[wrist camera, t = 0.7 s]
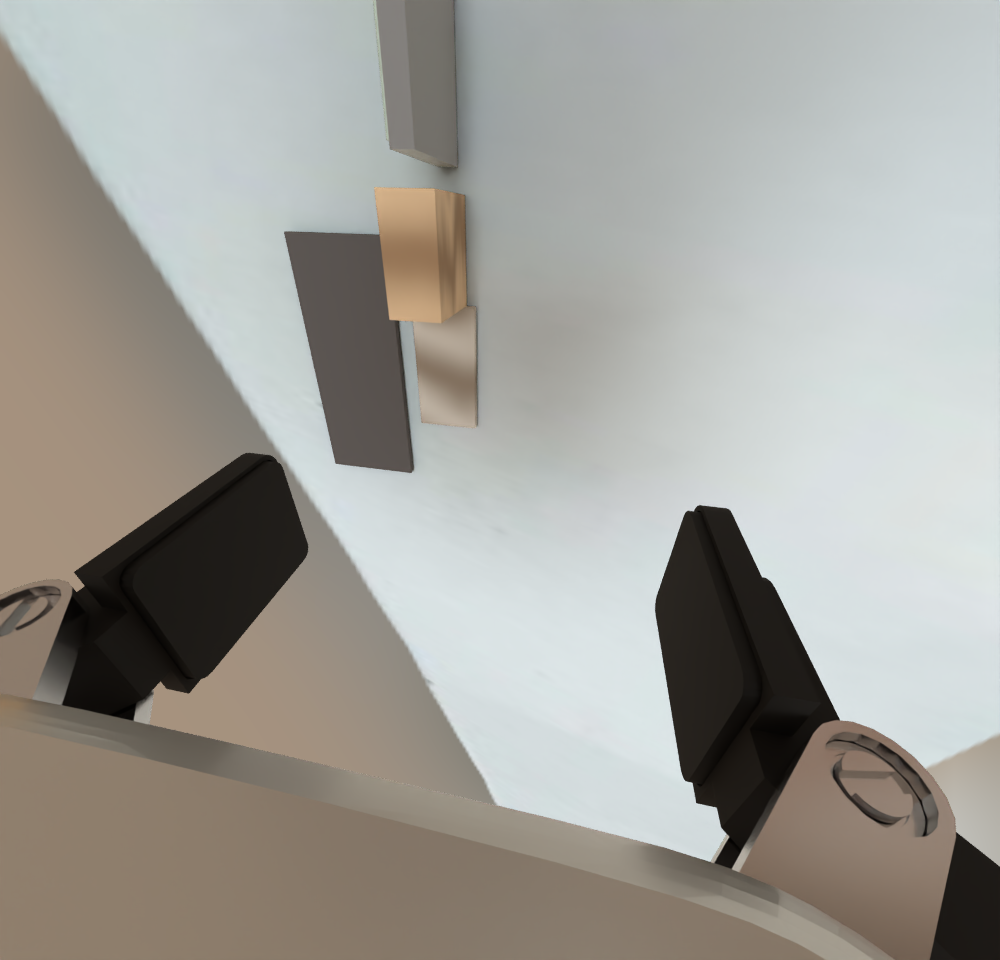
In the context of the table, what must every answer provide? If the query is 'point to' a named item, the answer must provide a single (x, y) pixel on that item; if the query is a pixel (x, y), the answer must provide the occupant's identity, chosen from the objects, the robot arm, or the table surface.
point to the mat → (353, 347)
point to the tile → (418, 78)
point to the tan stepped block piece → (432, 296)
